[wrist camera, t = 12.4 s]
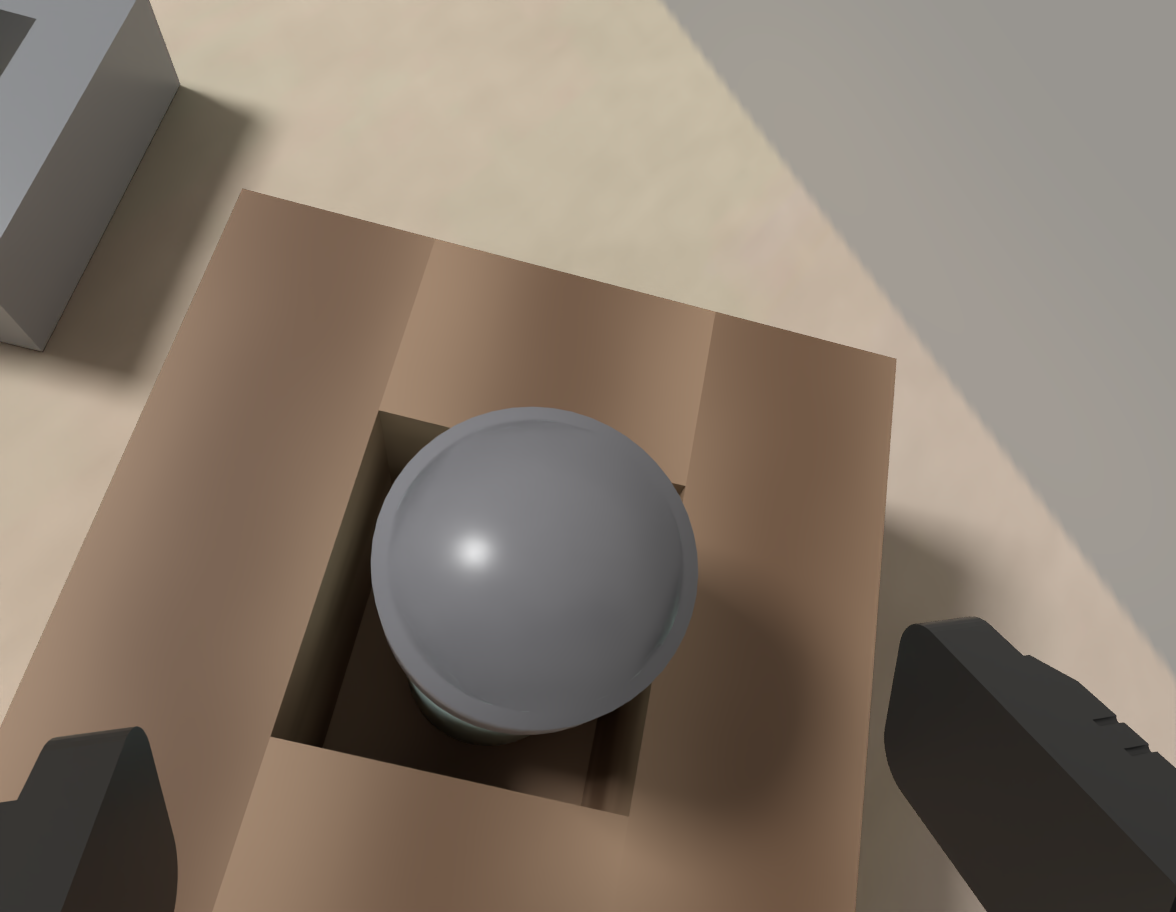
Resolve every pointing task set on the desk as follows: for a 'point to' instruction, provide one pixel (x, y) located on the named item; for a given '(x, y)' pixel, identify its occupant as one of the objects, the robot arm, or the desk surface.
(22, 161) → the grey hollow square block
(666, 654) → the plug
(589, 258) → the desk surface
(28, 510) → the desk surface
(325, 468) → the port block
